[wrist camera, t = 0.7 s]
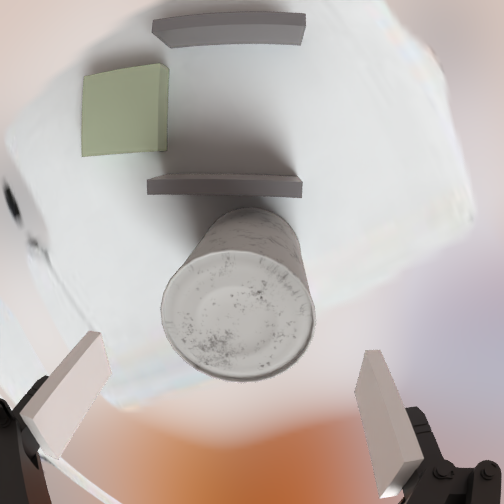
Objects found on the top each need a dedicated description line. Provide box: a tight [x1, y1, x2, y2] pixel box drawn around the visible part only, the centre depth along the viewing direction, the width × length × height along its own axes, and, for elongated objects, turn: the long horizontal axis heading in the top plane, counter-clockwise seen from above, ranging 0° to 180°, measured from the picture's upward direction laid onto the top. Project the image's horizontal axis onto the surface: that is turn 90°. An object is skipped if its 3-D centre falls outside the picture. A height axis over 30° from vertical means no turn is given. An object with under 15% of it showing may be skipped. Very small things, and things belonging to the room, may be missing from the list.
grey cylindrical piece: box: [161, 207, 316, 383], centre depth 25 cm, size 10×10×12 cm
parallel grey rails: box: [147, 12, 306, 198], centre depth 24 cm, size 12×15×5 cm
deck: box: [81, 63, 169, 157], centre depth 25 cm, size 8×8×2 cm
